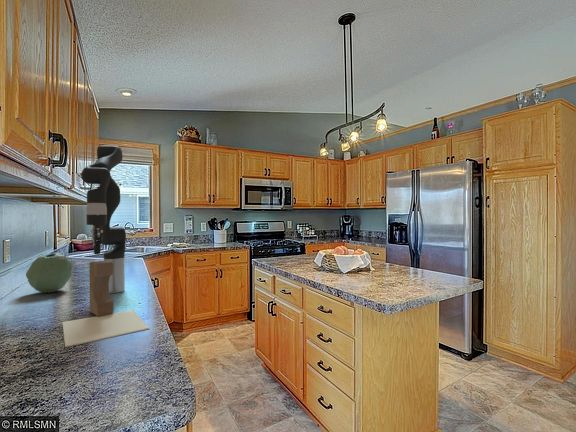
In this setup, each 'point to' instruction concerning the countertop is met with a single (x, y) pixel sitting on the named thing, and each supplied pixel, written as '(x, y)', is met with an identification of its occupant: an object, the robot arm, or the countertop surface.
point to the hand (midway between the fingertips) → (97, 253)
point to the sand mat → (102, 327)
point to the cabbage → (49, 272)
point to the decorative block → (100, 288)
